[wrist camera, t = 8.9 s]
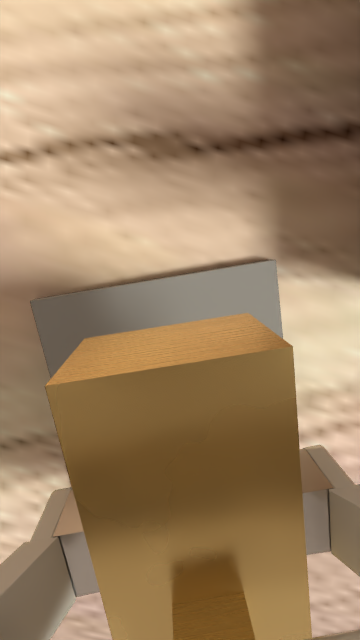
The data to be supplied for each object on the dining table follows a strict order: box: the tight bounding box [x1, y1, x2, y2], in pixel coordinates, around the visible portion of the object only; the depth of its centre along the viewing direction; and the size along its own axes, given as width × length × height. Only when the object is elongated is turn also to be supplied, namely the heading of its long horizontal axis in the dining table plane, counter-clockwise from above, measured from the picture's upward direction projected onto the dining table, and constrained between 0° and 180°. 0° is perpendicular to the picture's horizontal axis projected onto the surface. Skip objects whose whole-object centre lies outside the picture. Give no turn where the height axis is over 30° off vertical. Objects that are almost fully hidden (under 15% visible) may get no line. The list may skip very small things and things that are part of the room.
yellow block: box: [45, 313, 312, 640], centre depth 8 cm, size 9×4×4 cm, turn 8°
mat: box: [30, 260, 283, 378], centre depth 14 cm, size 12×10×1 cm
